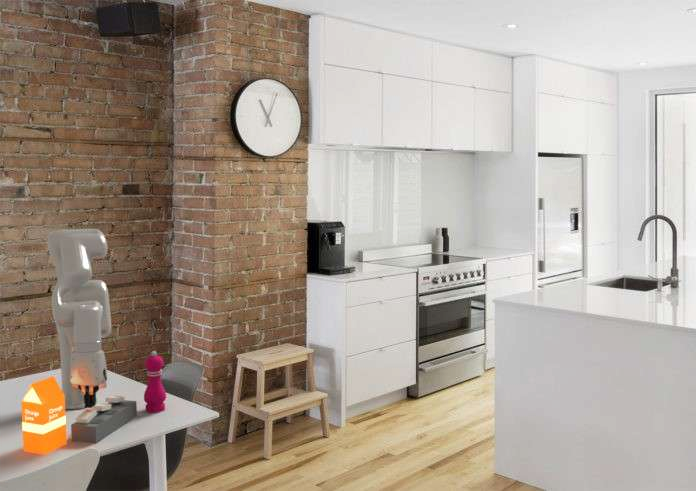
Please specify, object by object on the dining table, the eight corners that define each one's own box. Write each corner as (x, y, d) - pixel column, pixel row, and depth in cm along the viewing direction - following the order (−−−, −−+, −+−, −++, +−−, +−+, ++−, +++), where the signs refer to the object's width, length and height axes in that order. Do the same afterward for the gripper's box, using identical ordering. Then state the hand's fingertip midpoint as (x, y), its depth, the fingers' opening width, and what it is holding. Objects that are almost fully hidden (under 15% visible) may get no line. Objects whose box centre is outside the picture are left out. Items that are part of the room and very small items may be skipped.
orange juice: (23, 451, 201) (19, 382, 199) (46, 440, 209) (43, 374, 207) (44, 454, 198) (41, 385, 196) (67, 443, 206) (64, 377, 204)
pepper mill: (160, 414, 232) (158, 354, 230) (140, 412, 233) (138, 353, 231) (170, 406, 239) (168, 349, 237) (150, 405, 240) (148, 348, 238)
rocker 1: (76, 422, 209) (75, 417, 209) (86, 413, 214) (85, 408, 213) (87, 423, 208) (86, 418, 208) (97, 414, 213) (96, 409, 213)
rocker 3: (105, 401, 224) (105, 397, 225) (114, 400, 229) (114, 395, 230) (115, 402, 224) (116, 397, 224) (124, 401, 229) (124, 396, 229)
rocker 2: (91, 410, 217) (91, 405, 217) (100, 408, 222) (101, 403, 222) (102, 411, 216) (102, 405, 216) (111, 409, 221) (111, 404, 221)
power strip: (71, 441, 208) (70, 423, 208) (123, 408, 238) (123, 392, 237) (96, 443, 207) (95, 425, 206) (145, 409, 236) (145, 394, 235)
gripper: (58, 348, 209) (60, 408, 210) (103, 350, 206) (106, 412, 207) (72, 342, 216) (75, 401, 218) (117, 344, 213) (119, 404, 215)
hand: (90, 406), depth 213 cm, fingers closed
